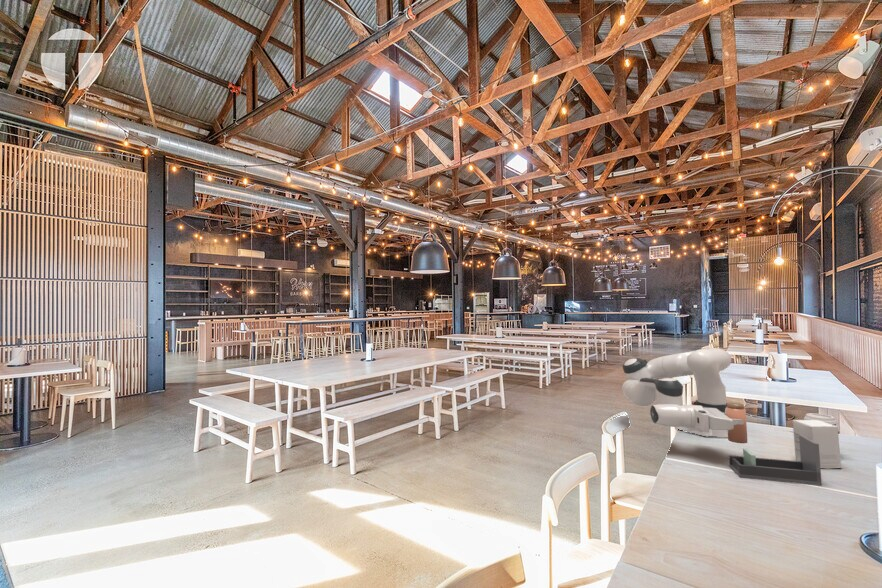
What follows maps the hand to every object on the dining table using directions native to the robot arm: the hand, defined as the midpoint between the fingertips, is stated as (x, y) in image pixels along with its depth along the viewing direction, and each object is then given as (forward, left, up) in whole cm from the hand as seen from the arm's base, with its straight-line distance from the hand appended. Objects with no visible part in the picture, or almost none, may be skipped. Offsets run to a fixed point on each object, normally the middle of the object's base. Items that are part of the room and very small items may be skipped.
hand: (739, 419), depth 152 cm
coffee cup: (+18, +28, -15) cm, 37 cm away
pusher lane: (+12, -11, -15) cm, 22 cm away
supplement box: (+19, +14, -15) cm, 28 cm away
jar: (-1, -1, -8) cm, 8 cm away
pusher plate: (+7, -14, -14) cm, 21 cm away
